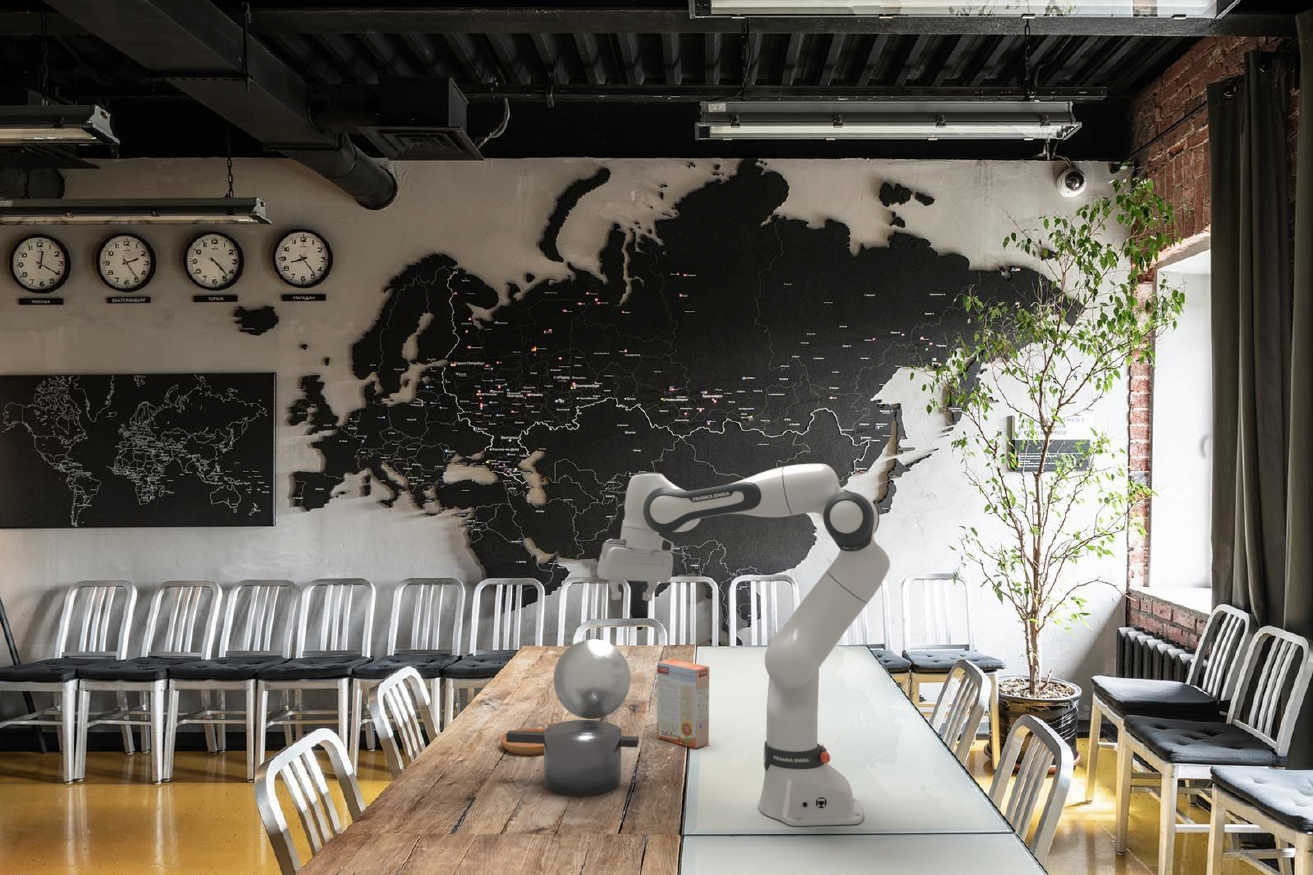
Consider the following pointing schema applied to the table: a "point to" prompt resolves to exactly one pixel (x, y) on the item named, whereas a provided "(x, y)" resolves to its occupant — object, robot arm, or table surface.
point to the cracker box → (683, 703)
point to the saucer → (523, 744)
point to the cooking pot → (579, 756)
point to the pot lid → (592, 679)
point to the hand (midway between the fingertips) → (631, 600)
